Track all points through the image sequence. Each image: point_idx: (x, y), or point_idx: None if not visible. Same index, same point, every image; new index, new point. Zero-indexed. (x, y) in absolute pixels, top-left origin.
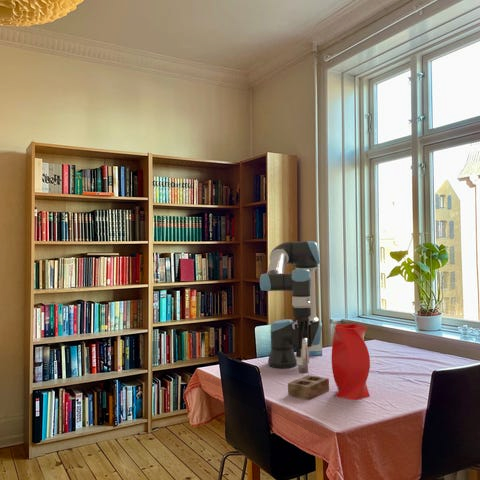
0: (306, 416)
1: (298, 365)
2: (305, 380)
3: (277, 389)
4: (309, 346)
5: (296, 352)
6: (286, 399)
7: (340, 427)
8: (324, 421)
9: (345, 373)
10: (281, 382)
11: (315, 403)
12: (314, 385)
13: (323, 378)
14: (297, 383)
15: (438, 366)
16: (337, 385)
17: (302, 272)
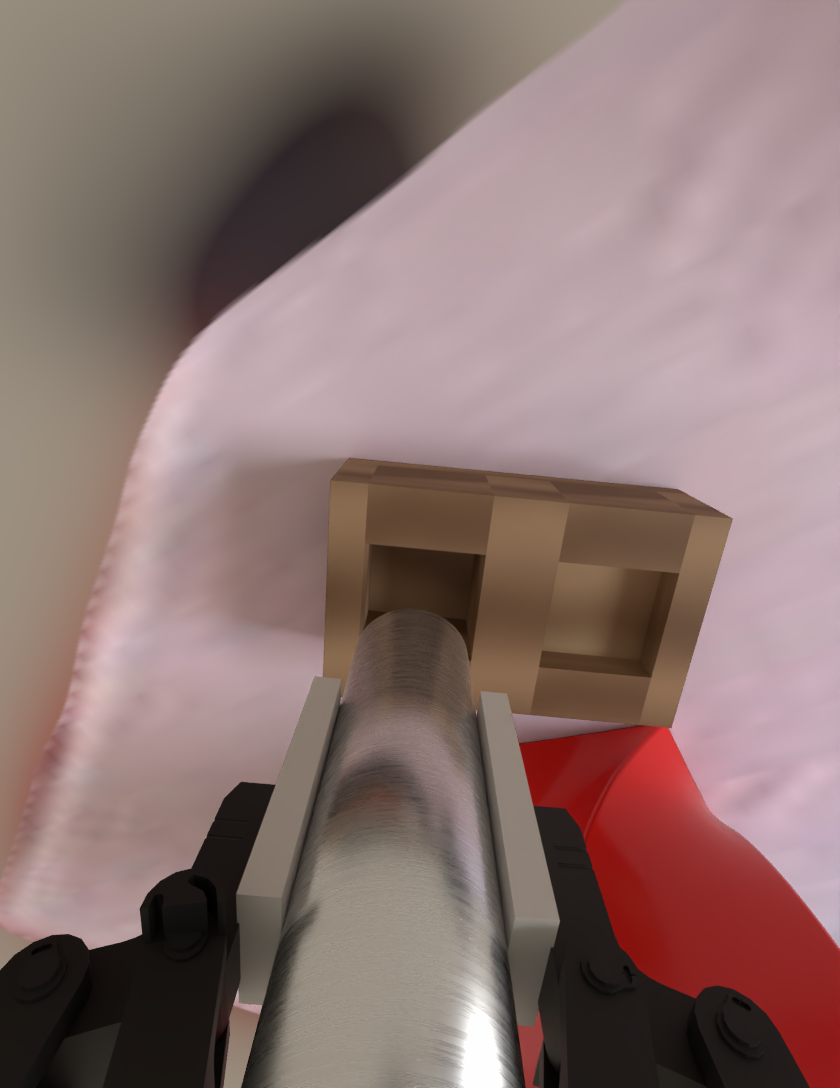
0: (56, 748)
1: (356, 673)
2: (508, 584)
3: (460, 271)
4: (540, 1053)
5: (200, 856)
6: (252, 495)
7: (51, 919)
8: (63, 844)
9: None
10: (720, 162)
11: (298, 701)
12: None
13: (650, 692)
14: (409, 543)
15: None
16: (580, 794)
17: None
